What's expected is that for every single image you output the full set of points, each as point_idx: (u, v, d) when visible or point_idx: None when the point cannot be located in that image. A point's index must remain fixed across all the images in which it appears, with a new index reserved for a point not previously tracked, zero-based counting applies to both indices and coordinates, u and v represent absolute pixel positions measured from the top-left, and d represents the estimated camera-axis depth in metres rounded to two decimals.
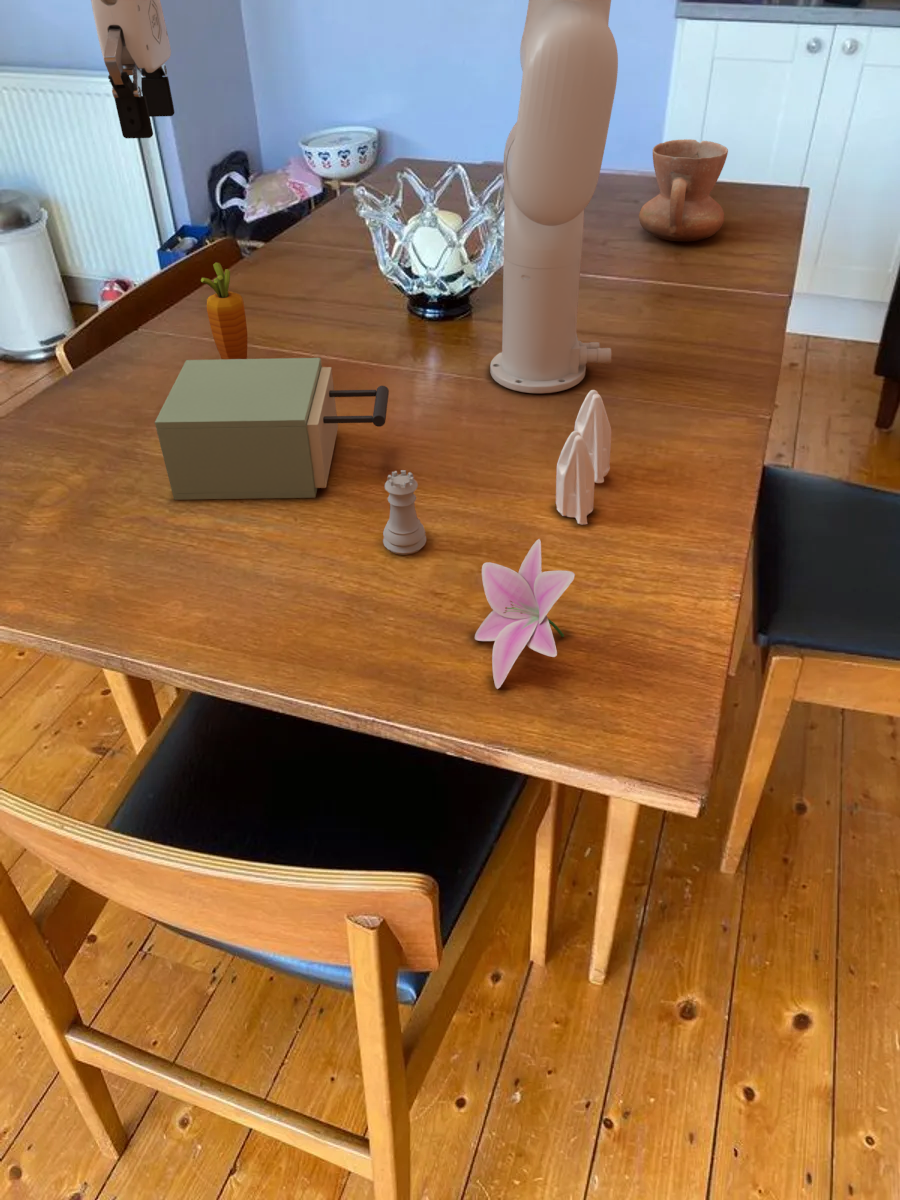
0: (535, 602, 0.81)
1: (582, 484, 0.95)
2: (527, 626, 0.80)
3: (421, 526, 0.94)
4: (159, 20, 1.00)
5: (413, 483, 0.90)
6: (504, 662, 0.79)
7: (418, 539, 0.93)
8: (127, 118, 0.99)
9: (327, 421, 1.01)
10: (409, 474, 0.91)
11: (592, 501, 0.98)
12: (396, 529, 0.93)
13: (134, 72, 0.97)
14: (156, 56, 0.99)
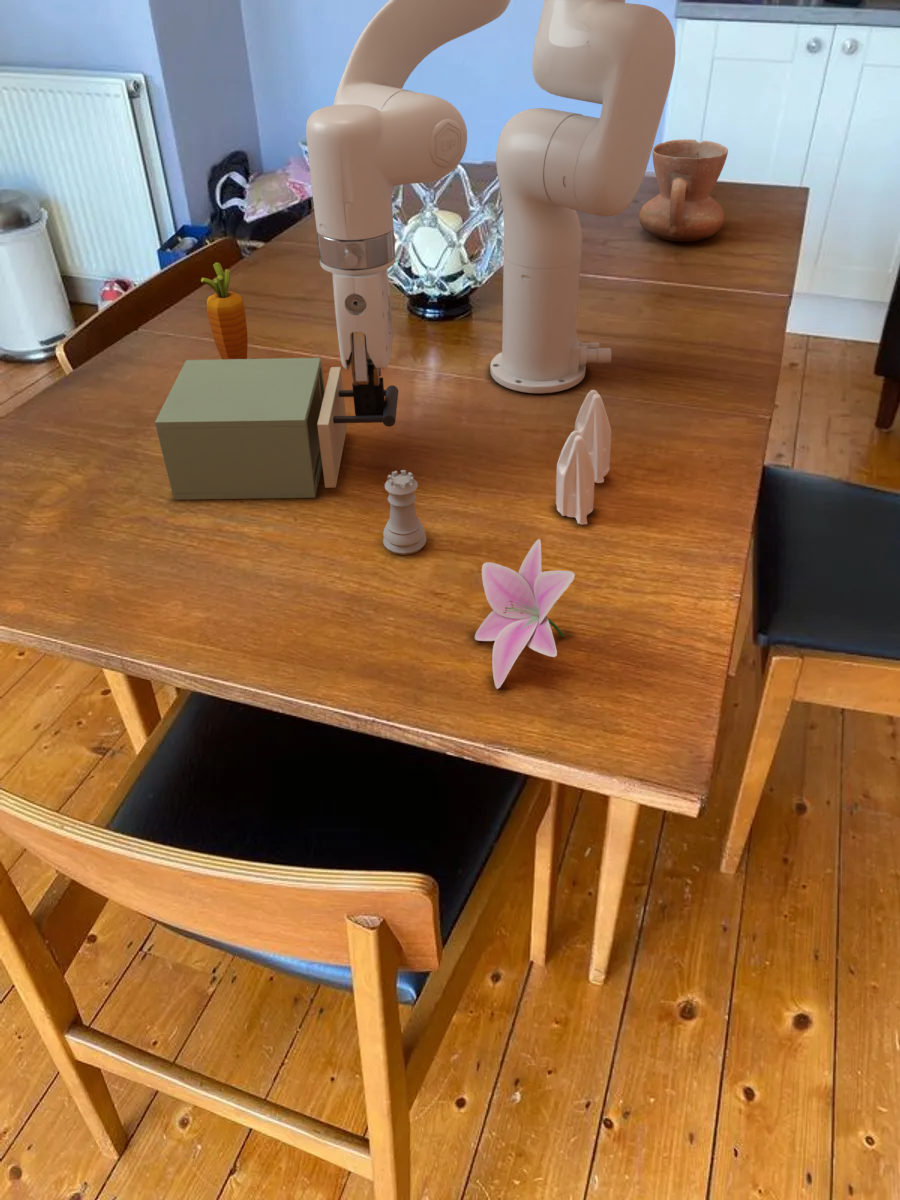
0: (535, 602, 0.81)
1: (582, 484, 0.95)
2: (527, 626, 0.80)
3: (421, 526, 0.94)
4: (390, 310, 0.98)
5: (413, 483, 0.90)
6: (504, 662, 0.79)
7: (418, 539, 0.93)
8: (364, 403, 1.01)
9: (337, 421, 1.01)
10: (409, 474, 0.91)
11: (592, 501, 0.98)
12: (396, 529, 0.93)
13: (374, 370, 0.98)
14: (389, 350, 0.97)
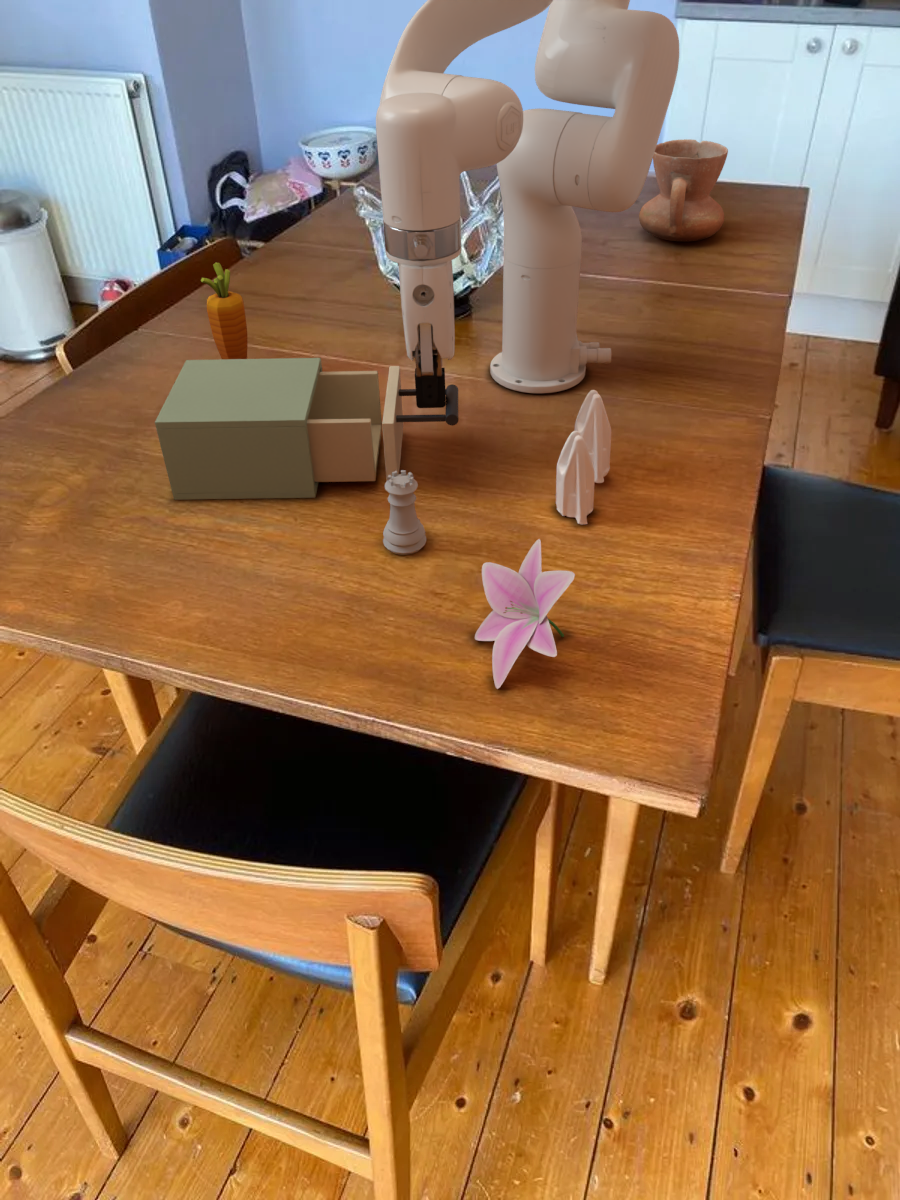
0: (535, 602, 0.81)
1: (582, 484, 0.95)
2: (527, 626, 0.80)
3: (421, 526, 0.94)
4: None
5: (413, 483, 0.90)
6: (504, 662, 0.79)
7: (418, 539, 0.93)
8: (426, 393, 1.01)
9: (400, 420, 1.01)
10: (409, 474, 0.91)
11: (592, 501, 0.98)
12: (396, 529, 0.93)
13: (438, 361, 0.98)
14: (454, 340, 0.97)
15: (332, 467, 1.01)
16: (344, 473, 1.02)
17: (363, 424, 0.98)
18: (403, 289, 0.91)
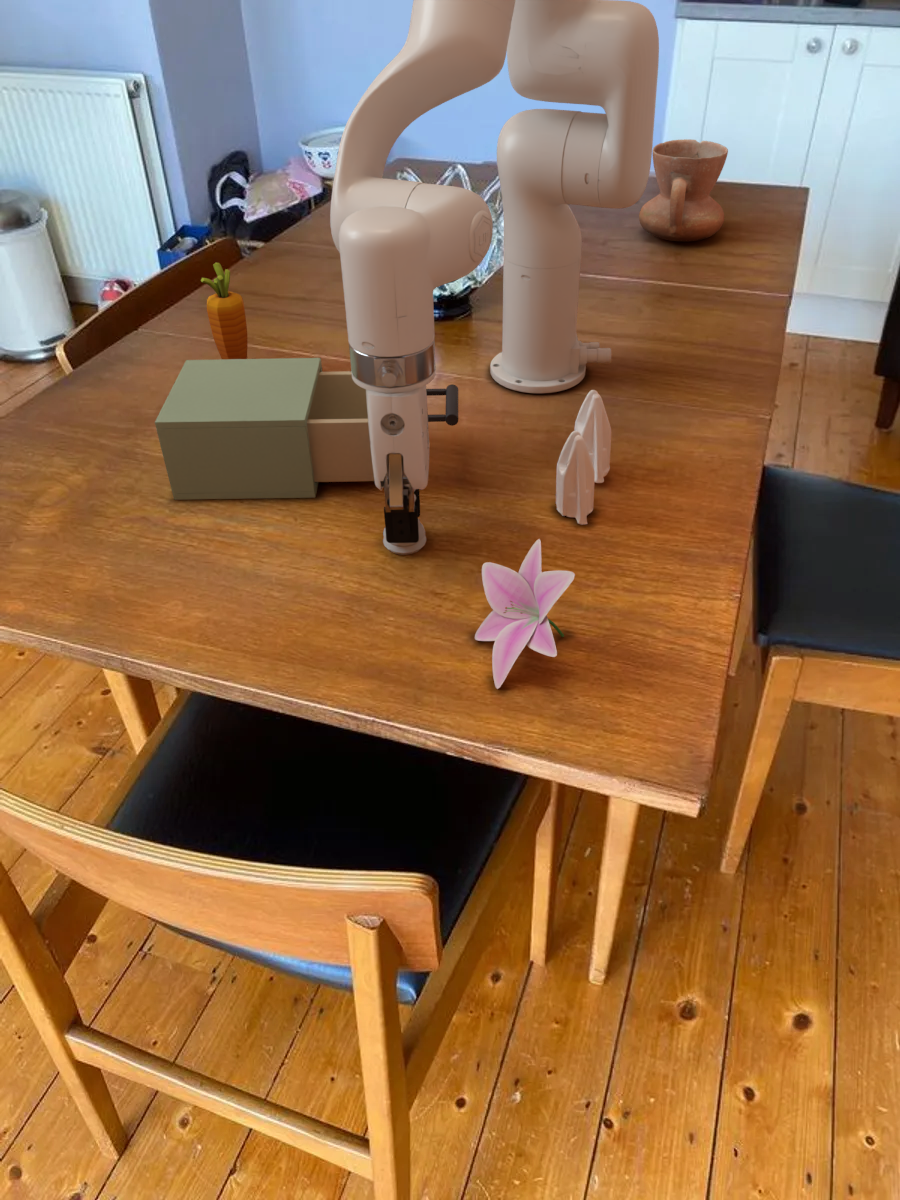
0: (535, 602, 0.81)
1: (582, 484, 0.95)
2: (527, 626, 0.80)
3: (421, 526, 0.94)
4: None
5: None
6: (504, 662, 0.79)
7: None
8: (396, 529, 0.91)
9: None
10: None
11: (592, 501, 0.98)
12: None
13: (409, 492, 0.88)
14: None
15: (332, 467, 1.01)
16: (344, 473, 1.02)
17: (363, 424, 0.98)
18: (370, 417, 0.82)
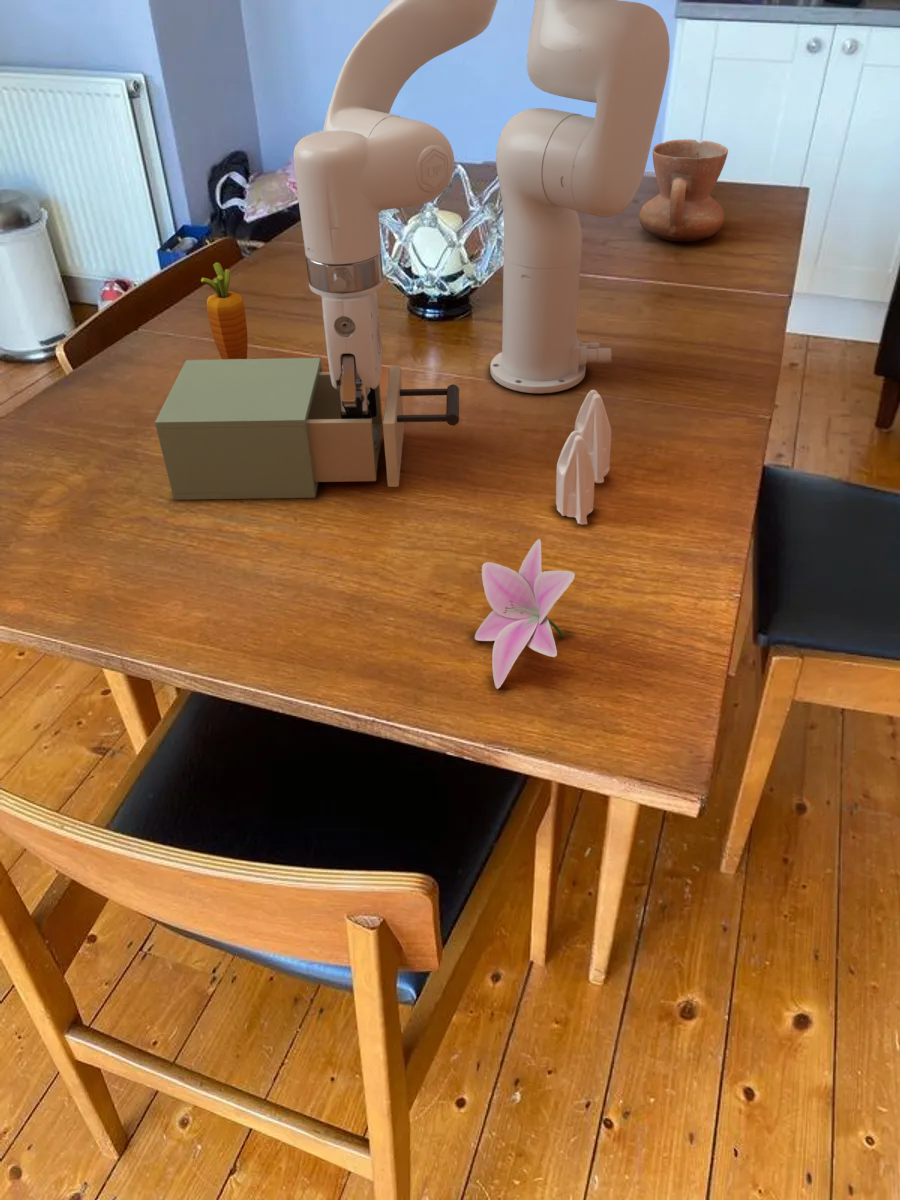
0: (535, 602, 0.81)
1: (582, 484, 0.95)
2: (527, 626, 0.80)
3: (375, 430, 1.05)
4: (379, 329, 1.00)
5: None
6: (504, 662, 0.79)
7: None
8: None
9: (401, 420, 1.01)
10: None
11: (592, 501, 0.98)
12: None
13: (362, 394, 0.98)
14: (379, 369, 0.98)
15: (333, 467, 1.01)
16: (345, 473, 1.02)
17: (364, 424, 0.98)
18: (325, 321, 0.93)
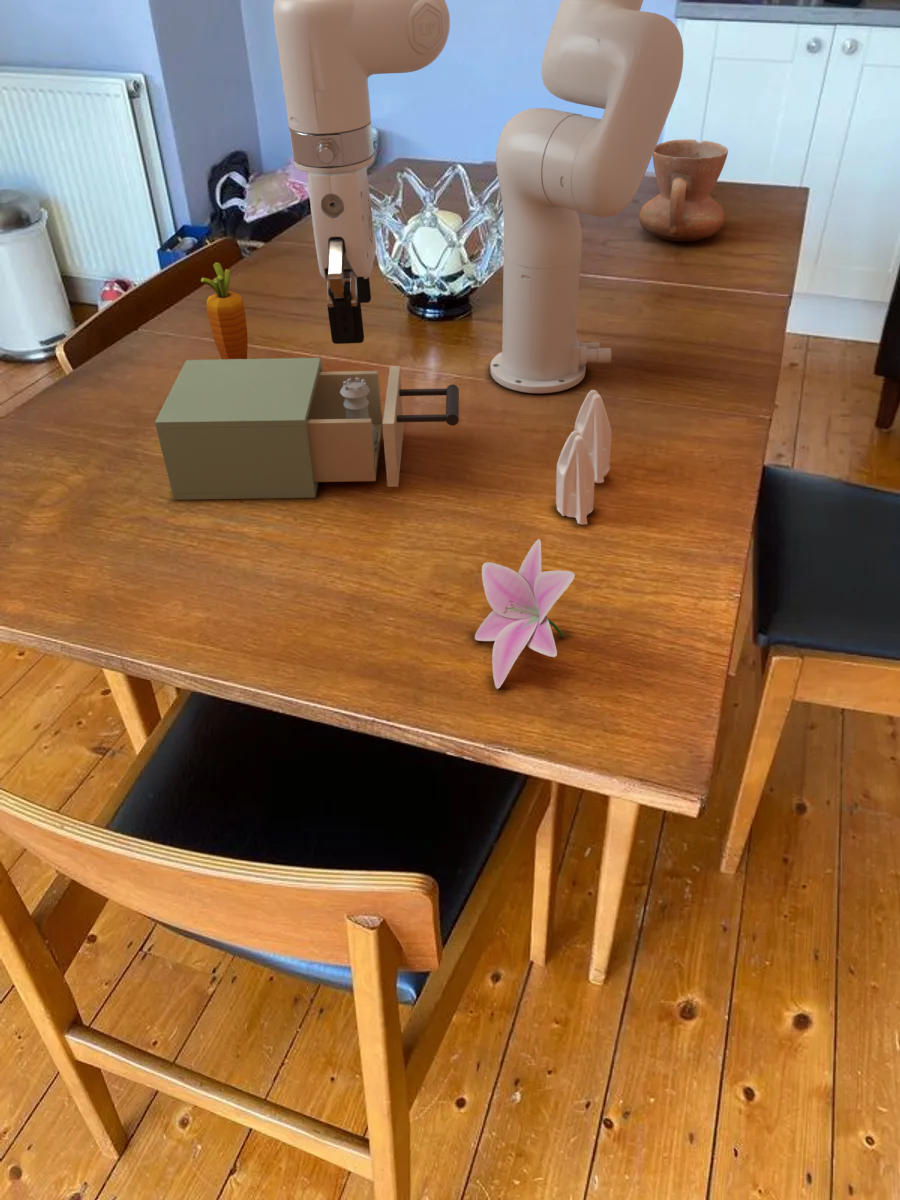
0: (535, 602, 0.81)
1: (582, 484, 0.95)
2: (527, 626, 0.80)
3: (374, 430, 1.05)
4: (371, 217, 0.92)
5: (365, 388, 1.02)
6: (504, 662, 0.79)
7: None
8: (340, 326, 0.92)
9: (400, 420, 1.01)
10: (362, 380, 1.02)
11: (592, 501, 0.98)
12: None
13: (351, 281, 0.90)
14: (371, 259, 0.91)
15: (332, 467, 1.01)
16: (344, 473, 1.02)
17: (364, 424, 0.98)
18: (311, 200, 0.85)
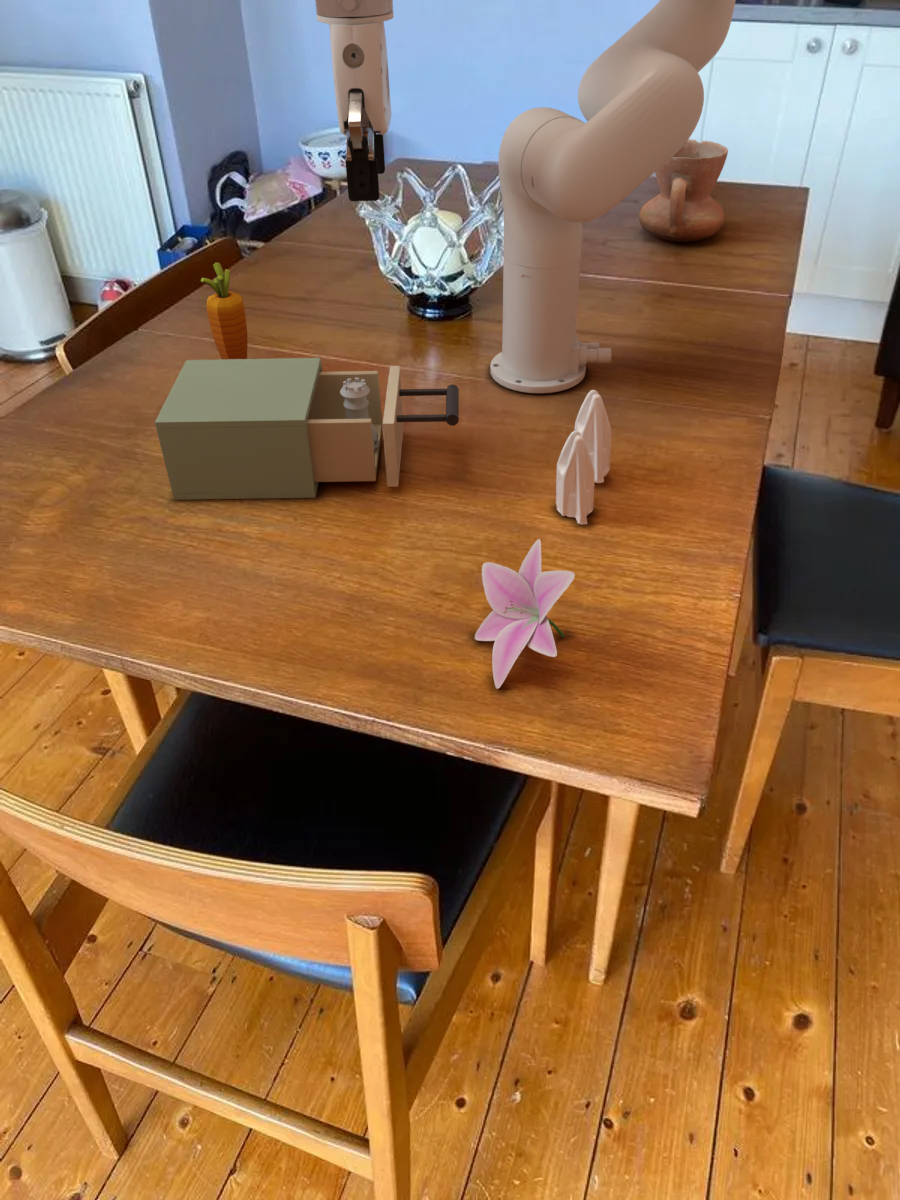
0: (535, 602, 0.81)
1: (582, 484, 0.95)
2: (527, 626, 0.80)
3: (374, 430, 1.05)
4: (388, 79, 0.97)
5: (365, 388, 1.02)
6: (504, 662, 0.79)
7: None
8: (357, 181, 0.96)
9: (400, 420, 1.01)
10: (362, 380, 1.02)
11: (592, 501, 0.98)
12: None
13: (369, 135, 0.94)
14: (388, 117, 0.96)
15: (332, 467, 1.01)
16: (344, 473, 1.02)
17: (364, 424, 0.98)
18: (333, 50, 0.90)
